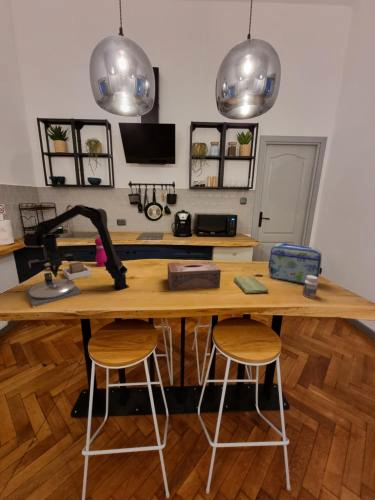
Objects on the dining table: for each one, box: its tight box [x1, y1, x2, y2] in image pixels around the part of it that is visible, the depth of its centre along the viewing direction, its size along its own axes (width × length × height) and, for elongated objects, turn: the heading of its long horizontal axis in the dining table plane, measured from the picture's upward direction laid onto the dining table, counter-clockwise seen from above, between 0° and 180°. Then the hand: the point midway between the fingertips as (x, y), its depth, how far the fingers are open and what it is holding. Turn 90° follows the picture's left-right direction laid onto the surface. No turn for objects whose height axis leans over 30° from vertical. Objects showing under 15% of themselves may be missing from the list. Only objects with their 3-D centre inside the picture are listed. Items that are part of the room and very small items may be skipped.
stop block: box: [68, 261, 85, 274], centre depth 121 cm, size 6×6×6 cm
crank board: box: [25, 279, 83, 307], centre depth 100 cm, size 19×19×1 cm
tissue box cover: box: [167, 260, 222, 291], centre depth 114 cm, size 26×14×10 cm, turn 101°
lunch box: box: [267, 242, 322, 285], centre depth 120 cm, size 26×11×21 cm, turn 57°
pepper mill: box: [94, 235, 107, 268], centre depth 136 cm, size 7×7×20 cm
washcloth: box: [233, 276, 269, 294], centre depth 112 cm, size 13×18×3 cm
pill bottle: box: [302, 275, 319, 299], centre depth 103 cm, size 6×6×10 cm
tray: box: [62, 264, 93, 281], centre depth 122 cm, size 12×12×3 cm
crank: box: [29, 272, 76, 299], centre depth 99 cm, size 18×18×6 cm
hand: (55, 277), depth 106 cm, fingers closed
